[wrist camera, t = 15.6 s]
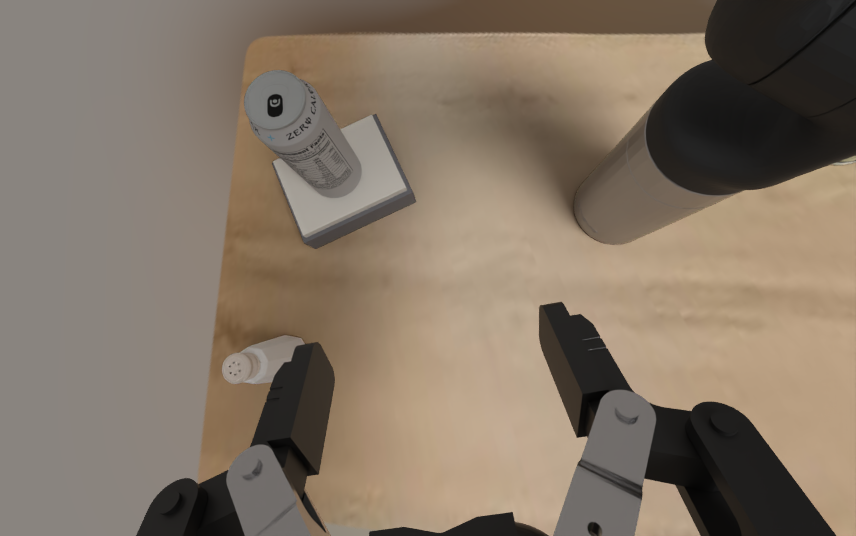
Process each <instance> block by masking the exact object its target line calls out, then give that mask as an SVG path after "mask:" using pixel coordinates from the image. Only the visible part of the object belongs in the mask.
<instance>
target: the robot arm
mask: <svg viewBox="0 0 856 536" xmlns="http://www.w3.org/2000/svg"><path fill="white" fill-rule="evenodd" d="M705 45H706V48H707V52H708V54H709V56H710V57H711V58H712V60H710V61H707V62H704V63H701V64H699V65H697V66H695V67H693V68H691V69H690V70H688V71H687V72H685V73H684V74H683V75H681V76H680V77H679V78H678V79H677V80H676V81H674V82H673V83H672V84H671V85H670V86H669V87H668V89H667V90H666V91H665V92H664V93H663V94H662V95H661V96H660V98H659V99H658V100H657V101H656V102H655V103H654V104H653V105H652V106H651V107H650V109H649V110H648V111H647V112H646V113H645V114H644V115H643V116H642V117H641V119H640V120H639V121H638V122H637V123H636V124H635V125H634V127H633V128H632V129H631V130H630V131H629V132H628V133H627V134H626V135H625V137H624V138H623V139H622V140H621V141H620V142H619V143H618V144H617V145H616V146H615V148H614V149H613V150H612V151H611V152H610V153H609V154H608V155H607V156H606V158H605V159H604V160H603V161H602V162H601V163H600V164H599V165H598V166H597V168H596V169H595V170H594V171H593V172H592V173H591V174H590V175H589V176H588V178H587V179H586V180H585V181H584V182H583V183H582V184H581V185H580V187H579V189H578V191H577V192H576V196H575V199H574V212H575V216H576V219H577V221H578V223H579V225H580V226H581V228H582V229H583V230H584V231H585V232H586V233H587V234H588V235H589V236H591V237H592V238H594V239H595V240H597V241H600V242H603V243H606V244H612V245H614V244H625V243H629V242H631V241H634V240H636V239H638V238H640V237H643V236H645V235H647V234H650V233H652V232H654V231H656V230H658V229H661V228H663V227H665V226H667V225H670V224H672V223H674V222H676V221H678V220H681V219H683V218H685V217H687V216H689V215H692V214H694V213H696V212H698V211H700V210H703V209H705V208H707V207H709V206H711V205H714V204H716V203H718V202H720V201H722V200H724V199H726V198H729V197H731V196H733V195H735V194H737V193H740V192H742V191H744V190H756V189H762V188H767V187H770V186H774V185H777V184H779V183H782V182H785V181H787V180H790V179H792V178H795V177H797V176H800V175H803V174H806V173H808V172H811V171H814V170H816V169H819V168H822V167H825V166H828V165H830V164H833V163H836V162H839V161H842V160H844V159H847V158H850V157H853V156H856V0H717V2H716V4H715V6H714V8H713V10H712V12H711V15H710V17H709V20H708V24H707V28H706V33H705ZM539 339H540V344H541V348H542V351H543V354H544V356H545V359H546V361H547V364H548V366H549V369H550V371H551V374H552V376H553V379H554V381H555V384H556V386H557V389H558V391H559V394H560V397H561V399H562V402H563V404H564V407H565V409H566V412H567V414H568V417H569V419H570V422H571V424H572V427H573V429H574V432H575V434H576V437H577V438H578V437H585V436H587V437H588V440H587V443H586V446H585V449H584V452H583V455H582V458H581V460H580V461H579V462H578V465H577V467H576V470H575V472H574V475H573V478H572V481H571V484H570V487H569V490H568V493H567V496H566V499H565V502H564V505H563V508H562V511H561V514H560V517H559V520H558V523H557V526H556V529H555V532H554V535H553V536H634V535H635V530H636V525H637V520H638V516H639V511H640V506H641V500H642V487H643V481H644V479H649V480H654V481H659V482H664V483H669V484H674V485H676V487H677V489H678V491H679V493H680V495H681V497H682V499H683V501H684V503H685V505H686V507H687V509H688V511H689V513H690V515H691V517H692V519H693V521H694V523H695V525H696V527H697V529H698V531H699V533H700V535H701V536H836V535H835V533H834V532H833V531H832V529H831V528H830V527H829V525H828V524H827V523H826V521H825V520H824V519H823V517H822V516H821V515H820V513H819V512H818V511H817V509H816V508H815V507H814V505H813V504H812V503H811V501H810V500H809V499H808V497H807V496H806V495H805V493H804V492H803V491H802V489H801V488H800V487H799V485H798V484H797V483H796V481H795V480H794V479H793V477H792V476H791V475H790V473H789V472H788V471H787V469H786V468H785V467H784V465H783V464H782V463H781V461H780V460H779V459H778V457H777V456H776V455H775V453H774V452H773V451H772V449H771V448H770V447H769V445H768V444H767V443H766V441H765V440H764V439H763V437H762V436H761V435H760V433H759V432H758V431H757V429H756V428H755V427H754V425H753V424H752V423H751V422H750V420H749V419H748V418H747V417H746V416H745V415H743V414H742V413H741V412H739V411H738V410H736V409H734V408H732V407H730V406H728V405H725V404H722V403H718V402H703V403H700V404H698V405H696V406H695V407H694V408H693V409H692V411H686V410H679V409H672V408H665V407H660V406H656V405H653V404H651V403H649V402H647V401H646V400H645V399H644V398H643V397H641V396H640V395H638V394H636V393H635V392H634V391H633V390H632V389H631V388H630V386H629V385H628V383H627V381H626V380H625V378H624V376H623V374H622V373H621V371H620V369H619V368H618V366H617V364H616V362H615V361H614V359H613V357H612V356H611V354H610V352H609V351H608V349H606V345H605V344H604V342H603V340H602V339H601V338H600V335H599V334H598V332H597V330H596V328H595V327H594V325H593V324H592V323H591V322H590V321H589V320H587V319H586V318H585V317H583V316H582V315H581V314H578V315H572V316H570V315H569V313H568V311H567V309H566V307H565V306H564V304H563V303H562V302H558V303H552V304H546V305H540V307H539ZM334 384H335V377H334V371H333V368H332V366H331V364H330V362H329V360H328V358H327V356H326V354H325V352H324V351H323V349H322V347H321V345H320V344H319V343H318V342H315V343H309V344H303V345H298V346H296V347H295V349H294V352H293V356H292V359H291V361H290V362H284V363H283V365H282V366H281V367H280V369H279V370H278V371H277V373H276V374H275V375H274V378H273V381H272V384H271V387H270V391H269V393H268V396H267V399H266V400H267V402H265V405H264V408H263V411H262V414H261V417H260V420H259V423H258V426H257V429H256V432H255V435H254V438H253V440H252V443H251V446H250V448H248V449H246V450H245V451H243V452H242V453H241V454H240V455H239V456H238V457H237V458H236V459H235V460H234V461H233V463H232V464H231V466H230V468H229V470H227V471H225V472H223V473H221V474H219V475H217V476H215V477H213V478H211V479H209V480H206V481H204V482H202V483H200V484H197V483H196V482H195V481H194V480H192V479H189V478H184V479H180V480H177V481H175V482H173V483H171V484H170V485H168V486H167V487H165V488H164V489H163V490H162V491H161V492H160V493H159V494H158V495H157V496H156V498H155V499H154V500H153V502H152V503H151V505H150V507H149V509H148V511H147V513H146V515H145V517H144V520H143V522H142V524H141V526H140V529H139V531H138V533H137V535H136V536H331V535H330V533H329V531H328V530H327V528H326V526H325V524H324V522H323V520H322V518H321V517H320V515H319V513H318V511H317V509H316V507H315V505H314V504H313V502H312V500H311V498H310V496H309V494H308V492H307V491H306V489H305V483H306V478H307V476H311V475H318V474H319V470H320V464H321V459H322V453H323V447H324V442H325V436H326V430H327V424H328V419H329V413H330V407H331V401H332V396H333V390H334ZM369 536H549V535H547V534H545V533H544V532H542V531H540V530H538V529H536V528H534V527H532V526H529V525H526V524H523V523H517V522H515V521H514V517H513V512H510V513H503V514H495V515H488V516H481V517H476V518H474V519H471V520H469V521H467V522H465V523H463V524H461V525H459V526H456V527H454V528H452V529H450V530H448V531H446V532H443V533H435V532H429V531H424V530H418V529H413V528H407V527H400V528H393V529H385V530H378V531H371V532H369Z"/></svg>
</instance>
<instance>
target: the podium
mask: <svg viewBox="0 0 856 536" xmlns="http://www.w3.org/2000/svg"><path fill="white" fill-rule="evenodd" d="M340 130H341V132H342V133H343V135H344V137H345V138H346V140H347V141H348V143H349V145H350V146H351V148H352V149H353V151H354V153H355V154H356V156H357V157H358V159H359V161H360V163H361V168H362V175H361V179H360V181H359V183H358V185H357V186H356V188H355V189H354V190H353V191H352V192H350V193H349V194H347V195H345V196H343V197H339V198H329V197H326V196H323V195H321V194H320V193H318V192H317V191H316V190H315V189H314V188H313V187H312V186H311V185H309V184H308V183H307V182H306V181H305V180H304V179H303V178H302V177H301V176H299V175H298V174H297V173H296V172H295V171H294V170H293V169H292V168H291V167H290V166H288V165H287V164H286V163H285V162H284V161H283V160H282V159H281V158H279V159H277V160H274V161H273V163H272V165H273V167H274V170H275V172H276V175H277V177H278V180H279V182H280V185H281V187H282V190H283V192H284V195H285V197H286V200H287V202H288V205H289V207H290V209H291V212H292V214H293V217H294V219H295V222H296V224H297V227H298V229H299V232H300V234H301V237H302V239H303V242H304V243H305V244H307V245H309V246H311V247H313V248H315V249H317V248H319V247H321V246H323V245H325V244H327V243H330V242H332V241H334V240H336V239H338V238H340V237H342V236H344V235H347V234H349V233H351V232H353V231H355V230H357V229H359V228H362V227H364V226H366V225H368V224H370V223H372V222H374V221H377V220H379V219H381V218H383V217H385V216H387V215H389V214H392V213H394V212H396V211H398V210H400V209H402V208H404V207H407V206H409V205H411V204H413V203H415V202H416V200H415V197H414V194H413V191H412V189H411V187H410V185H409V183H408V181H407V179H406V177H405V174H404V172H403V170H402V168H401V166H400V164H399V162H398V160H397V157H396V155H395V153H394V151H393V149H392V147H391V145H390V143H389V140H388V138H387V136H386V134H385V132H384V130H383V128H382V126H381V123H380V121H379V119H378V117H377V115H376V114H374V115H370V116H368V117H365V118H363V119H361V120H359V121H357V122H355V123H353V124H351V125H348V126H346V127H344V128H342V129H340Z"/></svg>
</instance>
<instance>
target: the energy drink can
mask: <svg viewBox="0 0 856 536" xmlns="http://www.w3.org/2000/svg"><path fill="white" fill-rule="evenodd" d="M244 106H245V111H246V114H247V116H248V117H249V122H250V125H251V128H252V130H253V132H254V133H255V135H256V136H257V137H258V138H259V139H260V140H261V141H262V142H263V143H264V144H265V145H266V146H268V147H269V148H270V149H271V150H272V151H273V152H274V153H275V154H276V155H277V156H279V157H280V158H281V159H282V160H283V161H284V162H285V163H286V164H287V165H288V166H290V167H291V168H292V169H293V170H294V171H295V172H296V173H297V174H298V175H299V176H301V177H302V178H303V179H304V180H305V181H306V182H307V183H308V184H309V185H311V186H312V187H313V188H314V189H315V190H316V191H317V192H318V193H320V194H321V195H323V196H326V197H329V198H339V197H343V196H345V195H347V194H349V193H350V192H352V191H353V190H354V189H355V188H356V186H357V185H358V183H359V181H360V179H361V175H362V168H361V163H360V161H359V159H358V157H357V156H356V154H355V153H354V151H353V149H352V148H351V146H350V145H349V143H348V141H347V140H346V138H345V137H344V135H343V133H342V132H341V130H340V129H339V127H338V125H337V124H336V122H335V121H334V119H333V117H332V116H331V114H330V112H329V111H328V109H327V108H326V106H325V104H324V103H323V101H322V100H321V98H320V96H319V95H318V93H317V92H316V90H315V89H314V88H313V87H312V86H311V85H310V84H309V83H307V82H306V81H304V80H301V79H299V78H297V77H296V76H295V75H293V74H292V73H290V72H287V71H282V70H273V71H269V72H266V73H264V74H262V75H260V76H259V77H257V78H256V79H255V80H254V81H253V82H252V83H251V84H250V86H249V87H248V89H247V91H246V94H245V99H244Z"/></svg>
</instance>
